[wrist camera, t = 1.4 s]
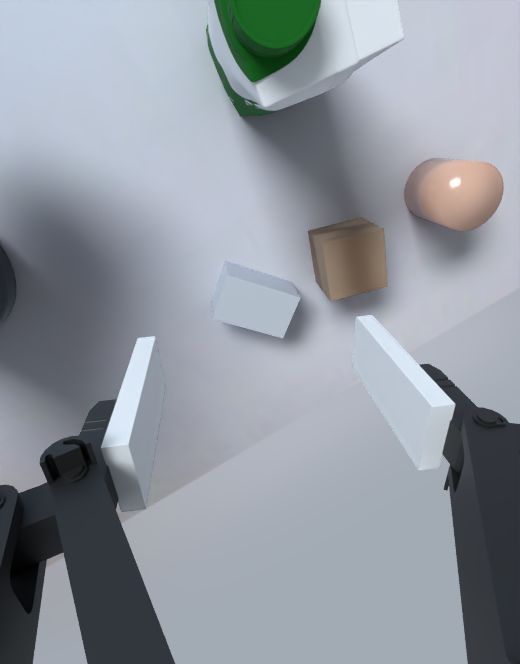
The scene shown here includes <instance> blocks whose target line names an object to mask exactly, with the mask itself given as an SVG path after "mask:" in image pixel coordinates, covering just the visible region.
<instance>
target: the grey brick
mask: <svg viewBox="0 0 520 664" xmlns="http://www.w3.org/2000/svg"><path fill="white" fill-rule="evenodd" d="M299 300H300V296H299V294H298V292H297V291H296V289H295V287H294V286H293V284H292V282H290V281H287V280H284V279H280V278H277V277H274V276H271V275H268V274H265V273H262V272H259V271H255V270H252V269H249V268H246V267H243V266H240V265H237V264H233V263H230V262H227V261H225V262H224V265H223V268H222V271H221V274H220V277H219V280H218V283H217V286H216V289H215V292H214V295H213V298H212V319H213V320H217V321H221V322H224V323H228V324H232V325H235V326H239V327H243V328H246V329H250V330H254V331H257V332H261V333H265V334H268V335H272V336H276V337H279V338H283V337H284V335H285V333H286V330H287V328H288V326H289V323H290V321H291V319H292V316H293V314H294V312H295V310H296V307H297V305H298V303H299Z"/></svg>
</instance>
